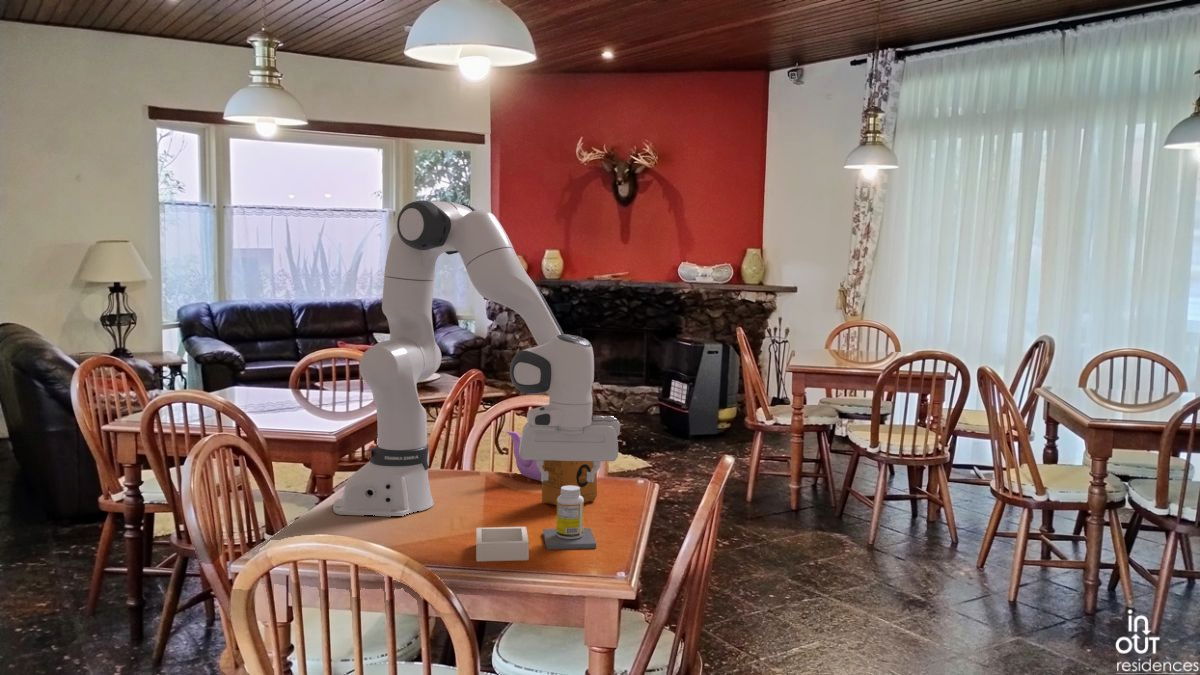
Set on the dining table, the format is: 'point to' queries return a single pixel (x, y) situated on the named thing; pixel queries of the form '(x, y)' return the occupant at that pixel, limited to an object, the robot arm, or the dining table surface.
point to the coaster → (568, 540)
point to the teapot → (524, 466)
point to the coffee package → (568, 479)
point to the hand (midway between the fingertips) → (567, 481)
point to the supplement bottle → (570, 513)
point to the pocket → (502, 544)
